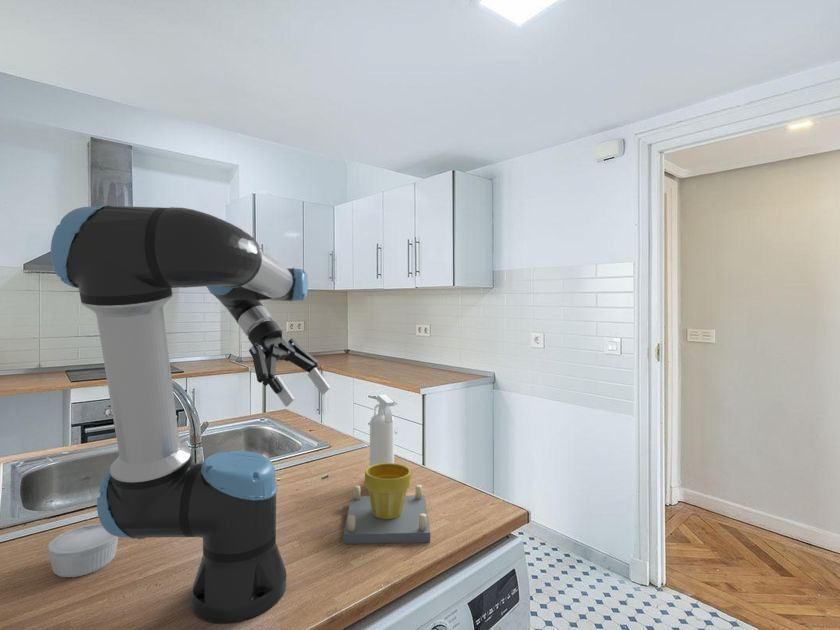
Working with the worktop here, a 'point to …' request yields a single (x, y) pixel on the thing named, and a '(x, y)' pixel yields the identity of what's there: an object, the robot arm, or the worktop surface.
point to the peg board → (387, 521)
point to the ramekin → (82, 550)
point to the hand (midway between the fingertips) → (309, 396)
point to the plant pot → (387, 488)
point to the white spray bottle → (382, 432)
